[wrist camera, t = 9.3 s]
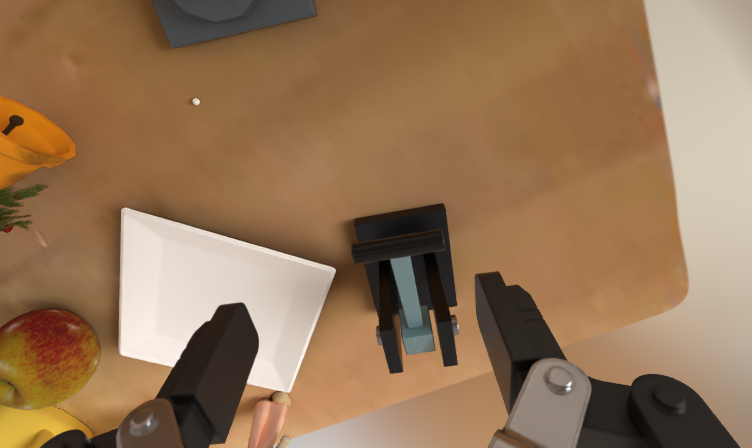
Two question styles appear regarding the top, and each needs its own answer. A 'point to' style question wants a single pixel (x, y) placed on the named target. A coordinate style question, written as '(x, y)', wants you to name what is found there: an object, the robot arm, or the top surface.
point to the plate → (214, 294)
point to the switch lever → (405, 281)
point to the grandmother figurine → (269, 422)
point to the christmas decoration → (28, 151)
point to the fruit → (45, 358)
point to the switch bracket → (429, 277)
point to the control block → (225, 17)
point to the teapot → (35, 426)
